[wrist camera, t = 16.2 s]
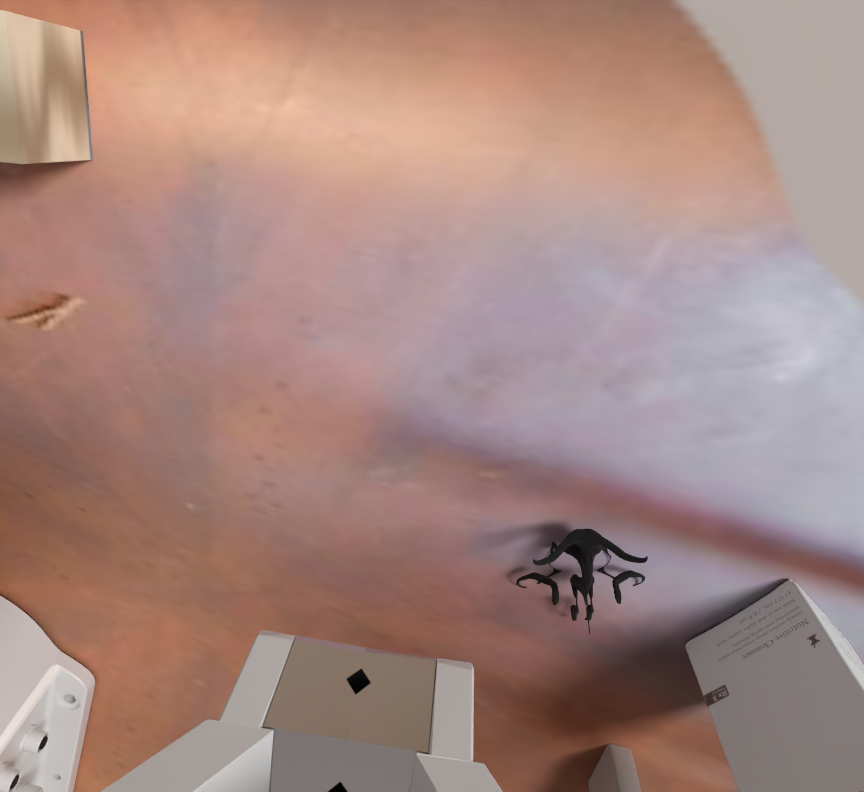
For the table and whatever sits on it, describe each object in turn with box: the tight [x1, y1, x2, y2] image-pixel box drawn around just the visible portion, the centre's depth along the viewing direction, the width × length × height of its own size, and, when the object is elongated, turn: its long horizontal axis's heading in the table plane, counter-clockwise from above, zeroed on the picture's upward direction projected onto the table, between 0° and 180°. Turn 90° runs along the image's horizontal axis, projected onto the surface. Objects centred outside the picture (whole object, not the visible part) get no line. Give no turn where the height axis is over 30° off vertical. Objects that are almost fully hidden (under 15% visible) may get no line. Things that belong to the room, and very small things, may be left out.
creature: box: [517, 529, 648, 634], centre depth 41 cm, size 8×5×8 cm
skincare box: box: [685, 580, 864, 792], centre depth 37 cm, size 8×6×15 cm
